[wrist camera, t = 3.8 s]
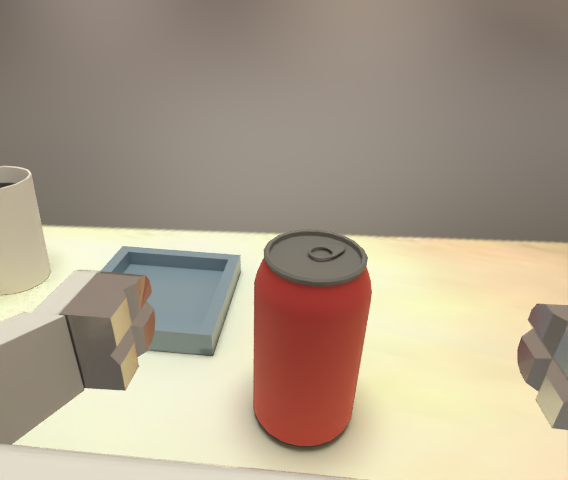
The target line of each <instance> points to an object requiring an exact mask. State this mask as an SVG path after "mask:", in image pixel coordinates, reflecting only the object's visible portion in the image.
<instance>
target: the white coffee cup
mask: <svg viewBox="0 0 568 480" xmlns="http://www.w3.org/2000/svg"><path fill="white" fill-rule="evenodd" d="M50 272H51V270H50V265H49V260H48V255H47V250H46V245H45V240H44V235H43V230H42V225H41V220H40V215H39V210H38V205H37V200H36V195H35V191H34V185H33V180H32V175H31V173H30V171H29V170H27V169H24V168H21V167H12V166H0V295H6V294H15V293H19V292H22V291H26V290H29V289H31V288H33V287H35V286H37V285H39V284H41V283H42V282H43V281H45V280H46V279H47V278H48V277H49V274H50Z"/></svg>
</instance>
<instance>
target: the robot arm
mask: <svg viewBox="0 0 568 480" xmlns="http://www.w3.org/2000/svg"><path fill="white" fill-rule="evenodd" d="M151 293H152V291H151V285H150V280H149V279H148V277H147V276H146V275H136V274H125V273H114V272H103V271H102V272H100V271H91V270H77V271H74V272H73V273H72V274H71V275H70V276H69V277H68V278H67V279H66V280H65V281H64V282H62V283H61V284H60V285H59V286H58V287H57V288H56V289H55V290H54V291H53V292H52V293H51V294H50V295H49V296H48V297H47V298H46V299H45V300H44V301H43V302H42V303H41V304H40V305H39V306H38V307H37V308H36V309H35V310H34V311H33V312H32V313H27V312H23V313H21V314H18V315H16V316H14V317H11V318H9V319H6V320H4V321H1V322H0V480H367V479H356V478H346V477H336V476H326V475H316V474H305V473H295V472H285V471H275V470H264V469H254V468H244V467H234V466H224V465H213V464H203V463H193V462H183V461H173V460H163V459H152V458H142V457H132V456H122V455H112V454H101V453H91V452H81V451H71V450H61V449H50V448H40V447H30V446H20V445H11V444H13V443H14V442H15V441H17V440H18V439H19V438H21V437H22V436H23V435H25V434H26V433H27V432H29V431H30V430H31V429H33V428H34V427H36V426H37V425H38V424H40V423H41V422H42V421H44V420H45V419H46V418H48V417H49V416H50V415H52V414H53V413H54V412H56V411H57V410H58V409H60V408H61V407H62V406H64V405H65V404H66V403H68V402H69V401H70V400H72V399H73V398H74V397H76V396H77V395H79V394H80V393H81V392H83V391H84V388H93V389H110V390H126V389H127V387H128V385H129V383H130V381H131V379H132V378H133V376H134V374H135V372H136V370H137V369H138V367H139V365H138V359H137V357H138V356H140V355H142V354H143V353H145V352H146V351H147V350H148V348H149V346H150V344H151V342H152V339H153V335H154V331H155V312H154V308H153V307H152V306H151V305H150V304H149V303H148V302H147V299H148V298H149V296H150V294H151ZM528 321H529V323H530V325H531V327H532V330H530V331H529V332H527V333H526V334H525V335H523V336H522V337H521V340H520V343H519V347H518V366H519V369H520V373H521V375H522V376H523V378H524V380H525V382H526V383H527V384H529V385H530V386H531V387H533V388H534V389H536V390H537V391H538V395H537V397H536V401H537V403H538V405H539V407H540V408H541V410H542V412H543V414H544V415H545V417H546V419H547V421H548V422H549V424H550V426H551V428H555V429H564V430H568V305H553V304H536V306H535V307H534V308H533V309H532V311H531V313H530V316H529V318H528Z"/></svg>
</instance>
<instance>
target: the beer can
mask: <svg viewBox="0 0 568 480" xmlns="http://www.w3.org/2000/svg"><path fill="white" fill-rule="evenodd" d="M367 259H368V257H367V255H366V253H365V251H364V249H363V248H361V247H360V246H359V245H358V244H357V243H356V242H355V241H353V240H351V239H349V238H347V237H345V236H343V235H339V234H336V233H333V232H328V231H322V230H297V231H290V232H287V233H284V234H281V235H278V236H277V237H275V238H274V239H272V240H271V241H269V242H268V244H267V245H266V247H265V249H264V259H263V260H262V262H261V265H260V267H259V269H258V271H257V274H256V278H255V282H254V388H253V409H254V411H255V414H256V416H257V419H258V421H259V423H260V424H261V425H262V426H263V427H264V428H265V429H266V430H267V432H268V433H269V434H271V435H272V436H274V437H276V438H277V439H279V440H281V441H282V442H285V443H289V444H293V445H297V446H317V445H320V444H323V443H326V442H328V441H331V440H332V439H334V438H335V437H336V436H338V435H339V434H340V433H341V432H343V431H344V429H345V428H346V426H347V424H348V423H349V421H350V419H351V415H352V409H353V403H354V397H355V391H356V385H357V379H358V373H359V367H360V361H361V355H362V350H363V344H364V338H365V332H366V326H367V320H368V314H369V308H370V302H371V294H372V290H371V281H370V277H369V273H368V270H367V267H366V265H367Z"/></svg>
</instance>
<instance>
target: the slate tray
mask: <svg viewBox="0 0 568 480" xmlns="http://www.w3.org/2000/svg"><path fill="white" fill-rule="evenodd" d="M102 271H103V272H114V273H125V274H136V275H146V276H147V277H148V279H149V280H150V285H151V291H152V293H151V294H150V296H149V298H148V299H147V302H148V303H149V304H150V305H151V306H152V307H153V308H154V312H155V331H154V335H153V339H152V342H151V344H150V346H149V348H148V350H155V351H166V352H177V353H188V354H199V355H210V356H213V354H214V351H215V348H216V345H217V342H218V339H219V336H220V333H221V330H222V327H223V324H224V321H225V318H226V315H227V312H228V309H229V306H230V303H231V300H232V297H233V293H234V290H235V287H236V284H237V281H238V278H239V275H240V255H230V254H217V253H204V252H191V251H178V250H165V249H152V248H139V247H126V246H123V247H122V248H121V249H120V250H119V251H118V252H117V253H116V254H115V256H114V257H113V258H112V259H111V260H110V261H109V262H108V263H107V265H106V266H105V267H104V268H103V269H102V270H101V271H100V272H102Z"/></svg>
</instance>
